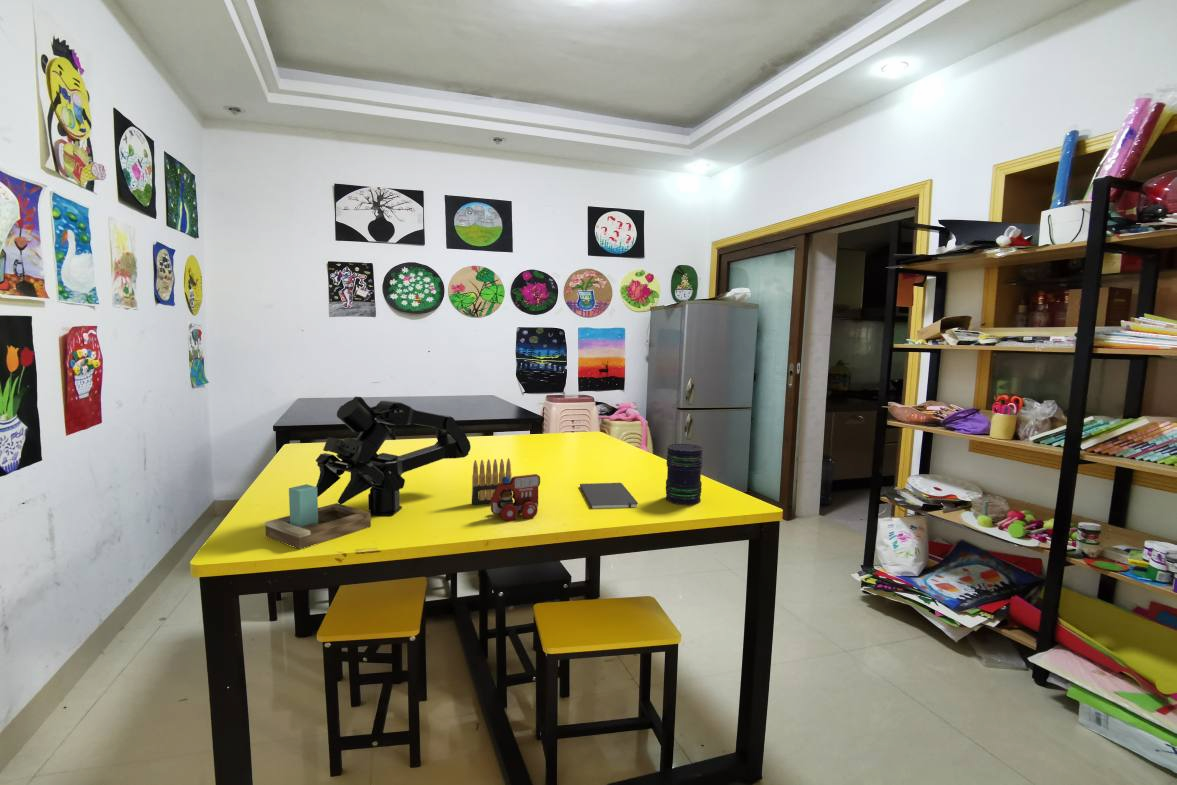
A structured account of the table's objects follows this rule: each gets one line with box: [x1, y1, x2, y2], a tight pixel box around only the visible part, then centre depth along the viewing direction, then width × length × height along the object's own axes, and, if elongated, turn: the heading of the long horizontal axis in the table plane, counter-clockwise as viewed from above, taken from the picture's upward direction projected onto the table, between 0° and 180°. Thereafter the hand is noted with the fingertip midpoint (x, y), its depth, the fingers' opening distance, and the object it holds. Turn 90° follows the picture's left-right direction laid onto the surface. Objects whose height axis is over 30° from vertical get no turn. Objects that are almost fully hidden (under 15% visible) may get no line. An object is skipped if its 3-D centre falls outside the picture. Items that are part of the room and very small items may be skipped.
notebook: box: [579, 482, 639, 510], centre depth 157 cm, size 13×2×21 cm
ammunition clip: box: [471, 458, 513, 506], centre depth 148 cm, size 11×2×12 cm, turn 109°
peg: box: [288, 483, 319, 527], centre depth 122 cm, size 7×7×11 cm
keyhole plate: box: [264, 502, 372, 550], centre depth 125 cm, size 17×13×3 cm
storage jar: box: [665, 443, 704, 506], centre depth 154 cm, size 10×10×15 cm
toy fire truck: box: [490, 473, 541, 522], centre depth 138 cm, size 7×12×10 cm, turn 113°
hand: (327, 499), depth 126 cm, fingers open, 9 cm apart
